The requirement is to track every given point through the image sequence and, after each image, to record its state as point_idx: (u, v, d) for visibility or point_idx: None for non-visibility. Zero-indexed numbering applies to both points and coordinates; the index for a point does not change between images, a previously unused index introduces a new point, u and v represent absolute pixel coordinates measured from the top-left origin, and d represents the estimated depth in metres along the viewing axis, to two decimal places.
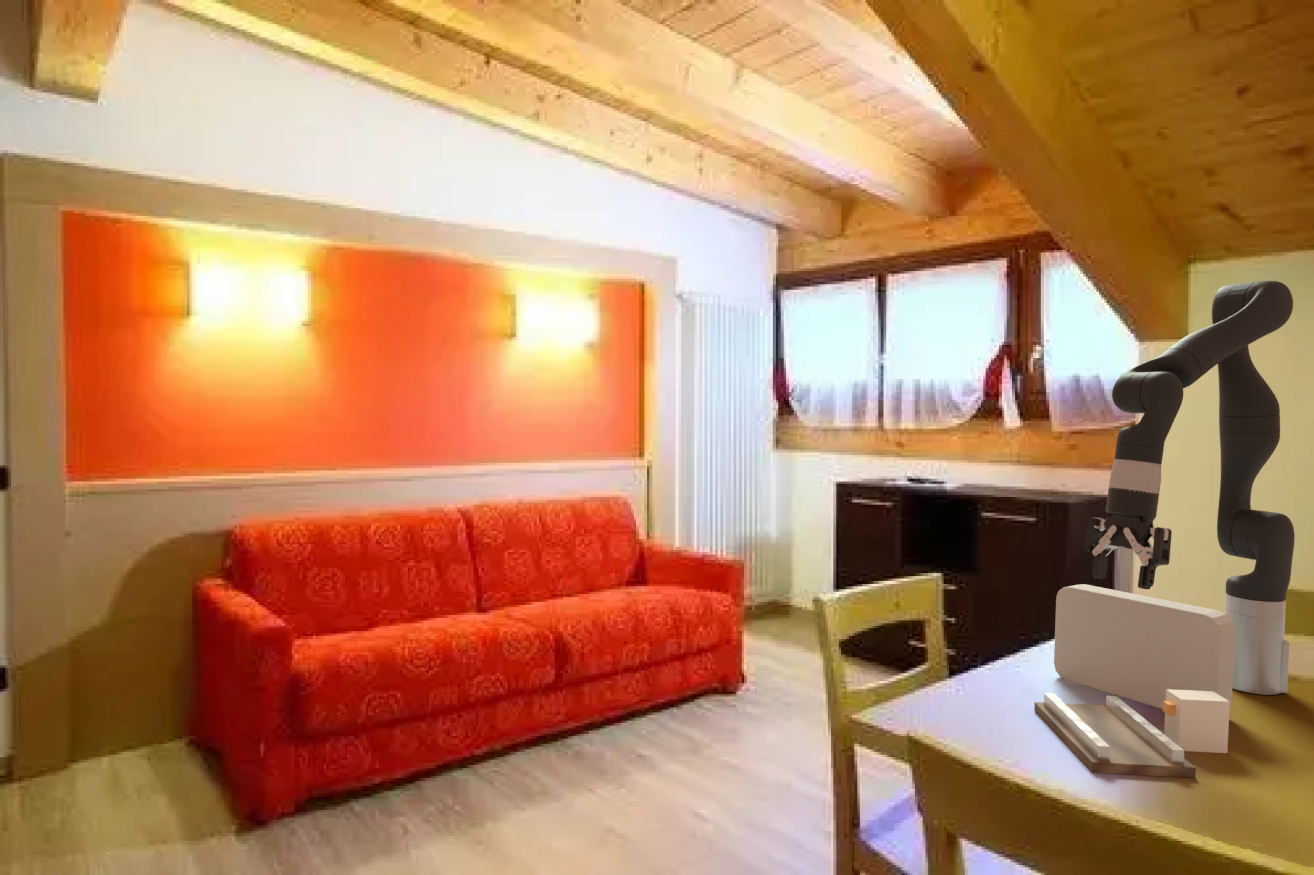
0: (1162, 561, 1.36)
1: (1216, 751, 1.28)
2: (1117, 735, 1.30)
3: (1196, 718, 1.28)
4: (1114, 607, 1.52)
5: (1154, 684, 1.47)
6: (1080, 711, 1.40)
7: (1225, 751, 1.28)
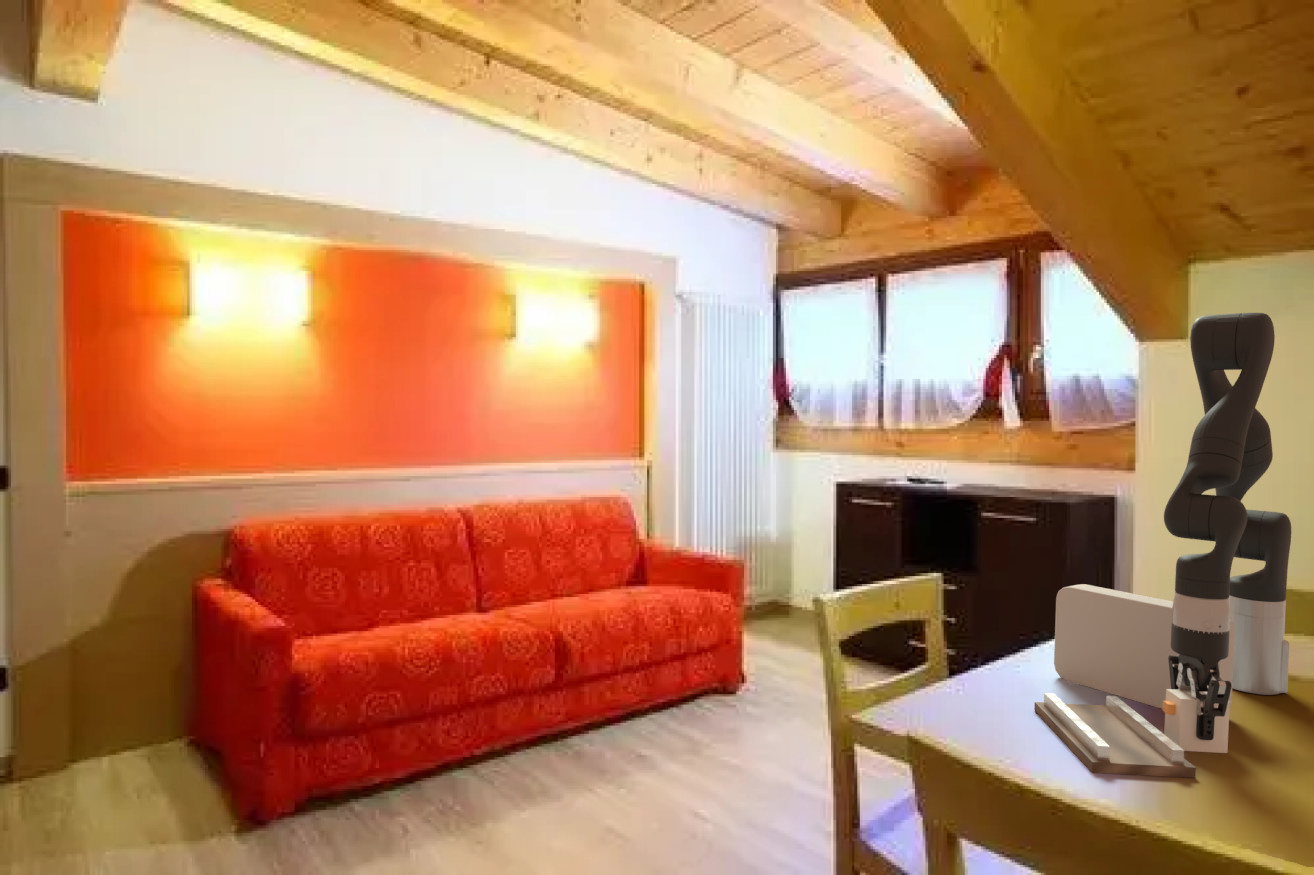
0: (1213, 713, 1.25)
1: (1216, 751, 1.28)
2: (1117, 735, 1.30)
3: None
4: (1114, 607, 1.52)
5: (1154, 683, 1.47)
6: (1080, 711, 1.40)
7: (1225, 751, 1.28)
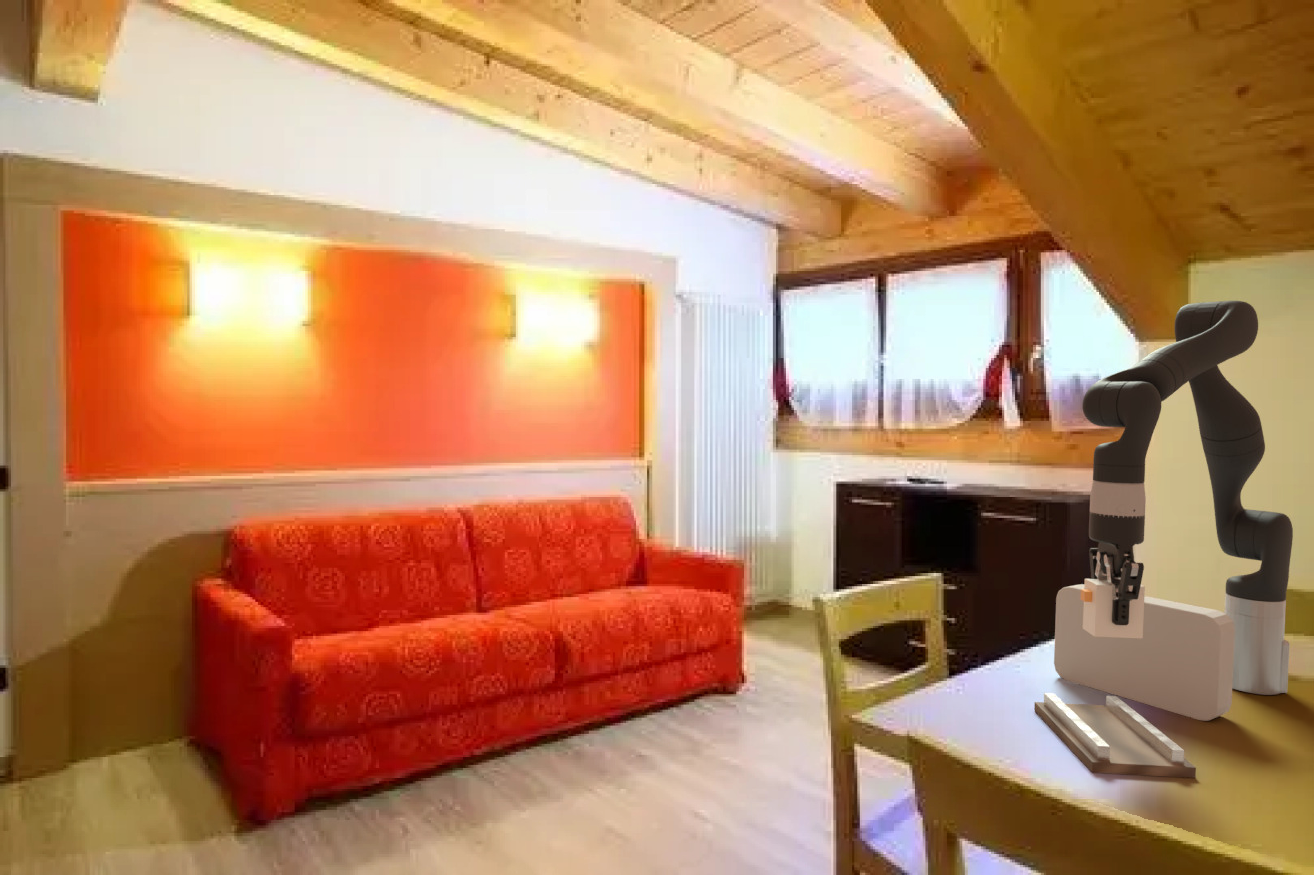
0: (1127, 596, 1.25)
1: (1131, 636, 1.28)
2: (1117, 735, 1.30)
3: None
4: None
5: (1154, 683, 1.47)
6: (1080, 711, 1.40)
7: (1140, 636, 1.28)
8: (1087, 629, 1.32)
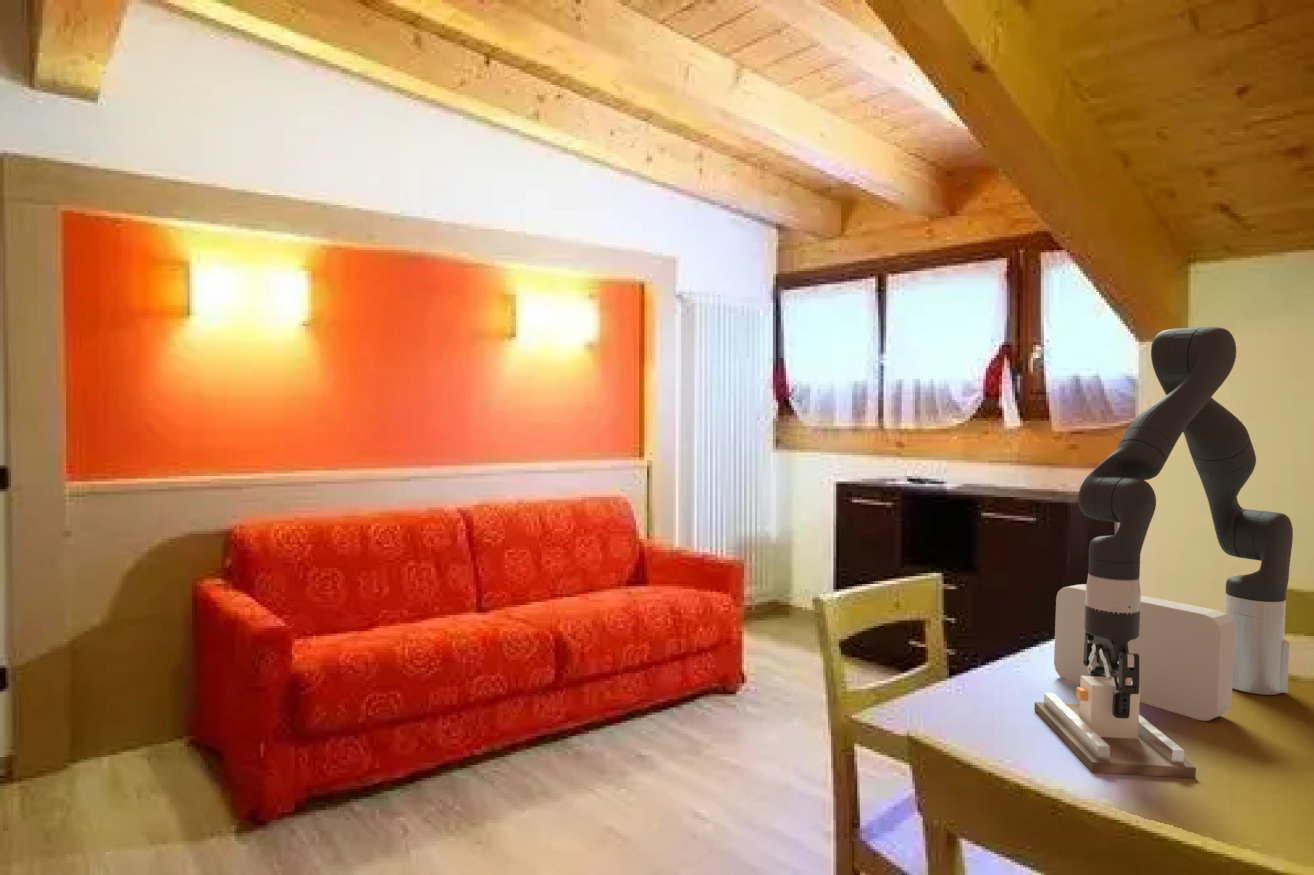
0: (1127, 691, 1.24)
1: (1127, 737, 1.29)
2: None
3: (1108, 704, 1.29)
4: None
5: (1154, 683, 1.47)
6: None
7: (1136, 737, 1.29)
8: None
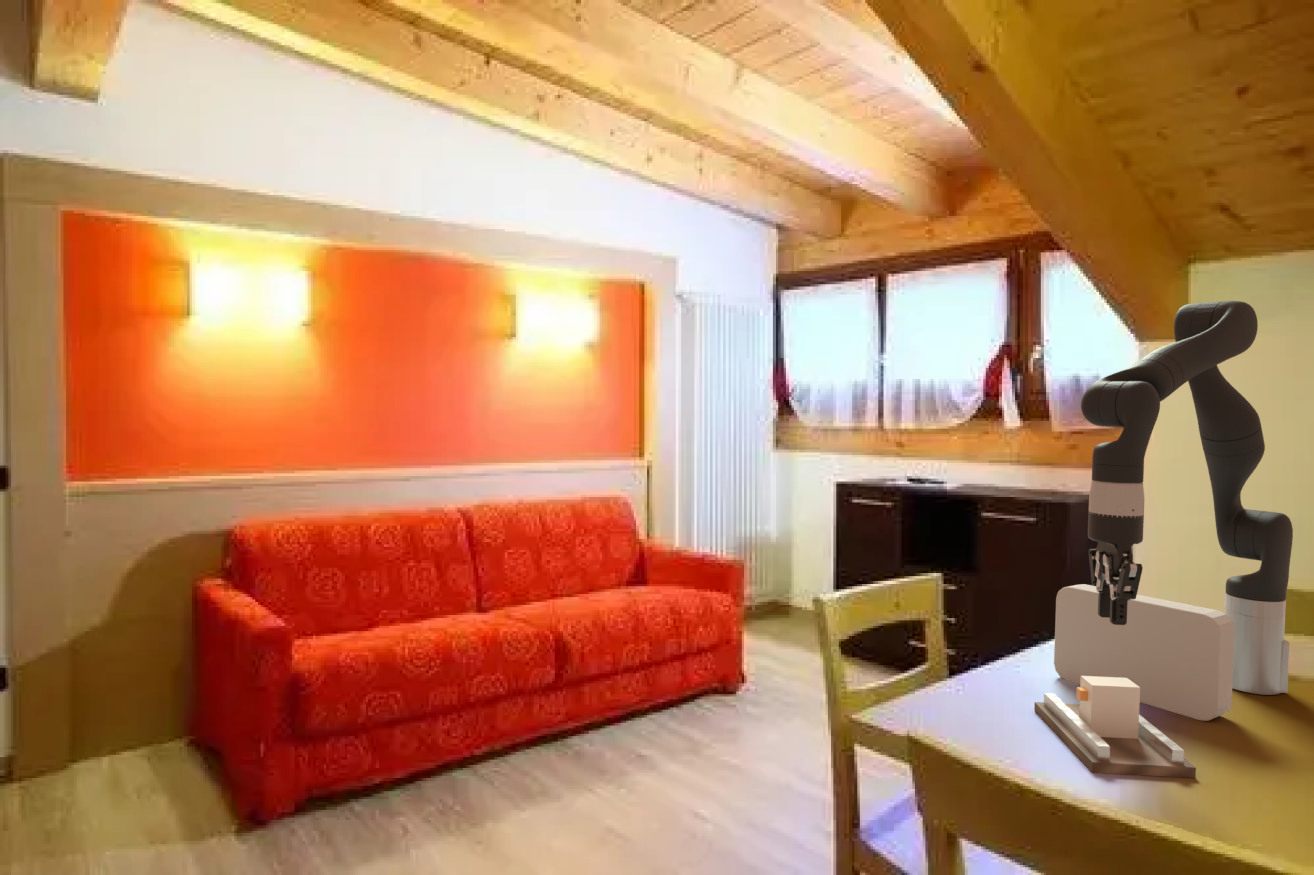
0: (1125, 595, 1.26)
1: (1127, 737, 1.29)
2: None
3: (1108, 704, 1.29)
4: None
5: (1154, 683, 1.47)
6: None
7: (1136, 737, 1.29)
8: None
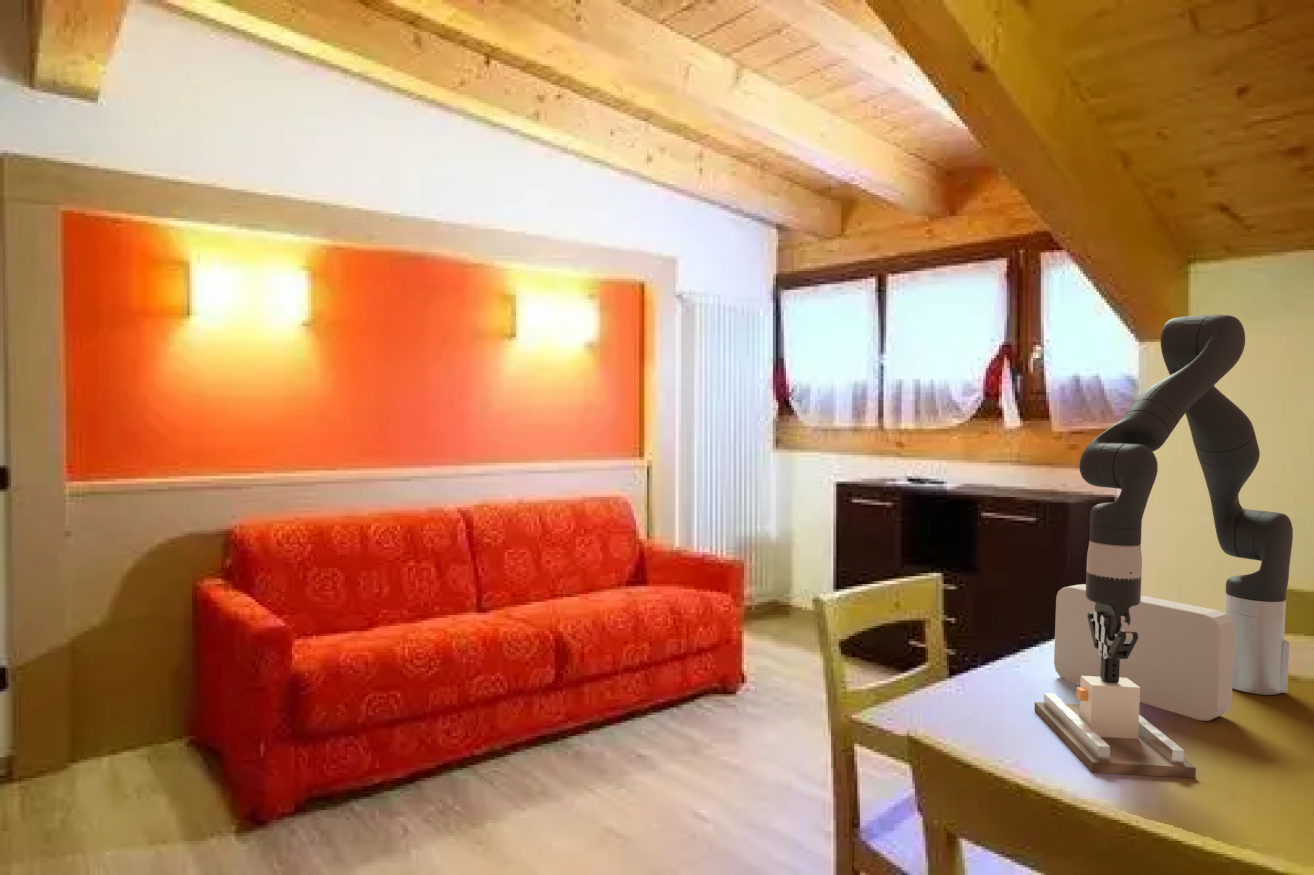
0: (1117, 655, 1.28)
1: (1127, 737, 1.29)
2: None
3: (1108, 704, 1.29)
4: None
5: (1154, 683, 1.47)
6: None
7: (1136, 737, 1.29)
8: None
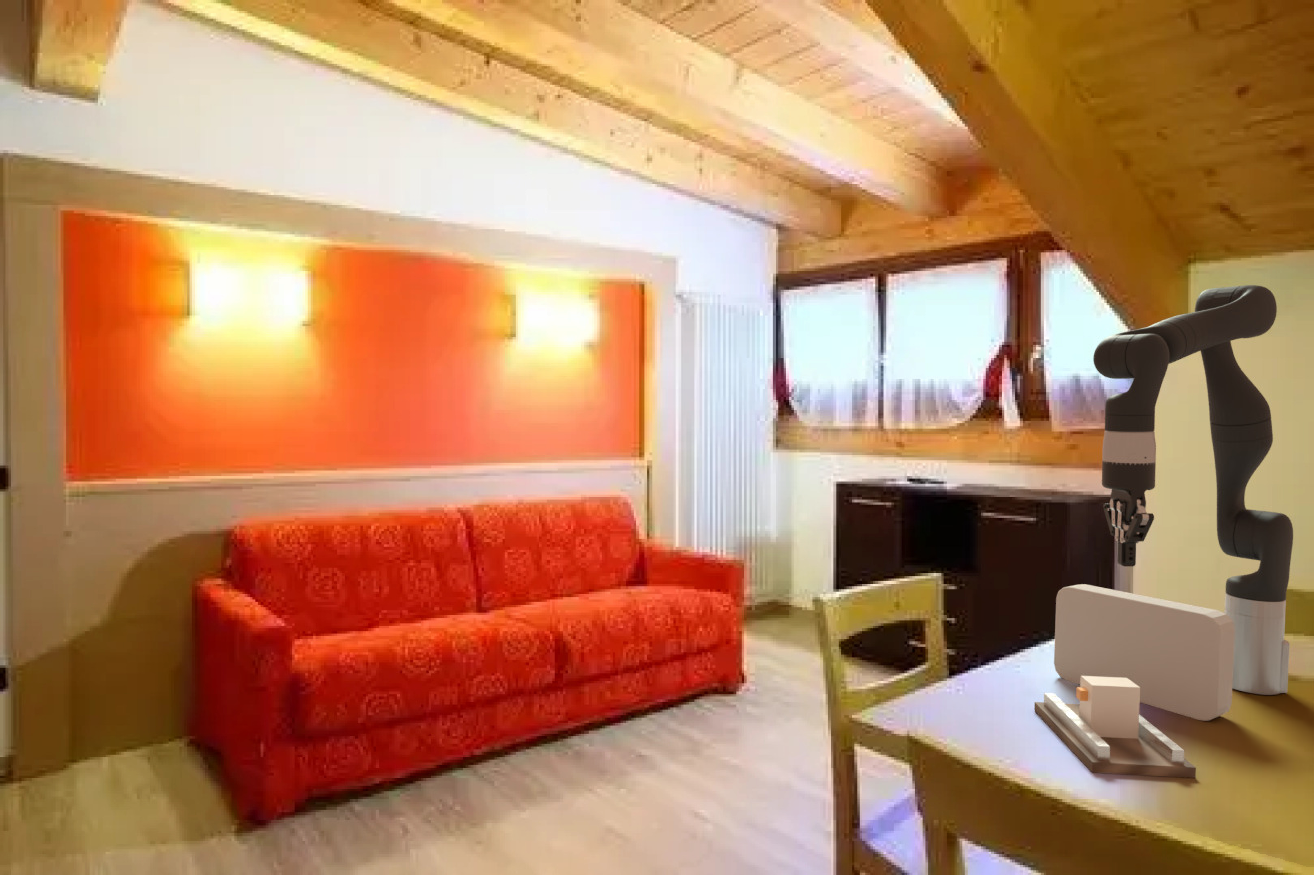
0: (1133, 538, 1.33)
1: (1127, 737, 1.29)
2: None
3: (1108, 704, 1.29)
4: (1114, 607, 1.52)
5: (1154, 683, 1.47)
6: None
7: (1136, 737, 1.29)
8: None
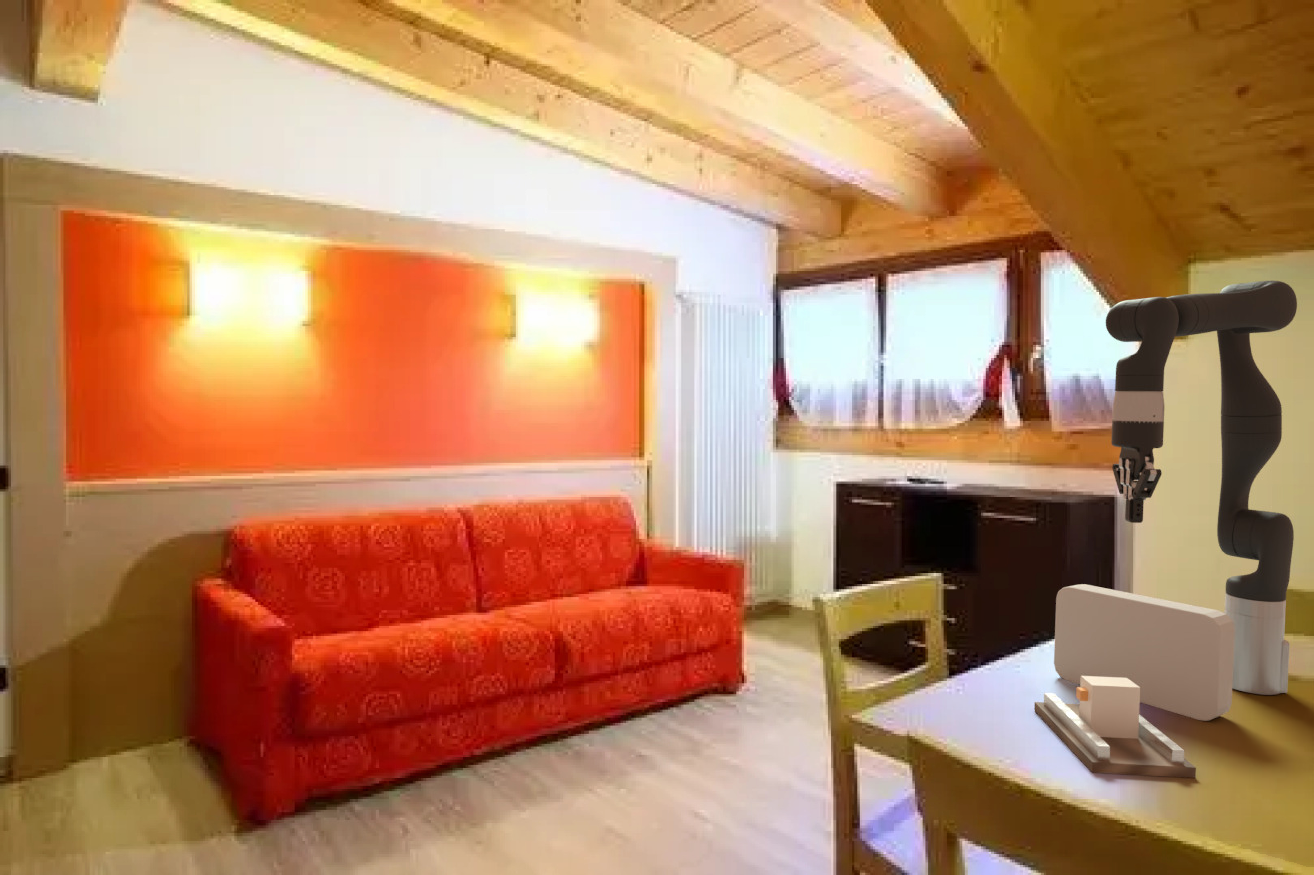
0: (1141, 494, 1.38)
1: (1127, 737, 1.29)
2: None
3: (1108, 704, 1.29)
4: (1114, 607, 1.52)
5: (1154, 683, 1.47)
6: None
7: (1136, 737, 1.29)
8: None
